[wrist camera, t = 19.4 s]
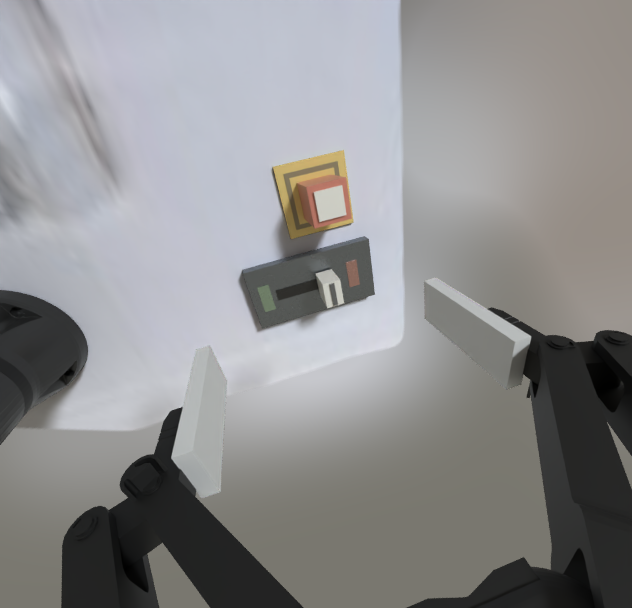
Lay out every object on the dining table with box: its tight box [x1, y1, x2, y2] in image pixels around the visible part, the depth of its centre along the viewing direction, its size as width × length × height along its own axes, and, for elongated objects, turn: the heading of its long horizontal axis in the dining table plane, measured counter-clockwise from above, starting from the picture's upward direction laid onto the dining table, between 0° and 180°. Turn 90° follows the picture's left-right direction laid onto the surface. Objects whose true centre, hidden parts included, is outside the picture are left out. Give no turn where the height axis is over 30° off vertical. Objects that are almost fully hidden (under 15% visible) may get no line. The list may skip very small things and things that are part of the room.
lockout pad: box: [273, 150, 353, 239], centre depth 37 cm, size 9×9×1 cm
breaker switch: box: [316, 269, 344, 308], centre depth 39 cm, size 2×4×4 cm, turn 12°
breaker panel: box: [243, 236, 375, 328], centre depth 42 cm, size 18×9×2 cm, turn 102°
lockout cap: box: [297, 175, 352, 228], centre depth 34 cm, size 4×4×6 cm
